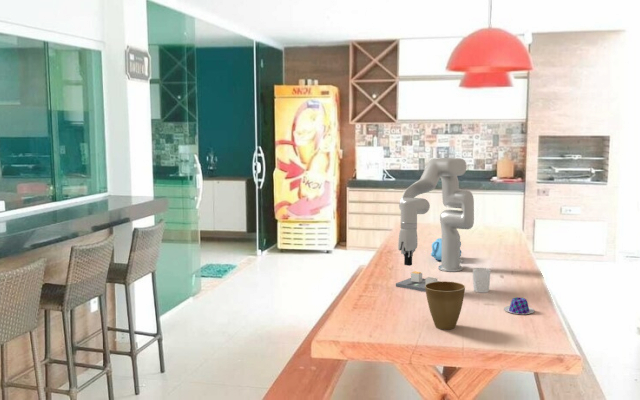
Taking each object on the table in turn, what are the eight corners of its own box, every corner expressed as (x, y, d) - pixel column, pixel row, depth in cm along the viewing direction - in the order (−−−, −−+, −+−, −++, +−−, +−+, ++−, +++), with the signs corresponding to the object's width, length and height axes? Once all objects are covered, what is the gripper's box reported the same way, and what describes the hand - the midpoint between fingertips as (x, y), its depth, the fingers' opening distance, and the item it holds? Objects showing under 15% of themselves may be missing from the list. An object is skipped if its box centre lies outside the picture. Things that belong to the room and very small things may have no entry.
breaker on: (428, 285, 295) (428, 276, 294) (437, 286, 292) (437, 278, 291) (425, 286, 292) (425, 278, 292) (433, 288, 289) (434, 279, 289)
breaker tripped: (414, 279, 305) (414, 271, 305) (422, 281, 303) (422, 272, 302) (410, 280, 303) (410, 272, 303) (418, 282, 300) (418, 273, 300)
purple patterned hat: (512, 305, 269) (512, 293, 268) (539, 310, 261) (539, 298, 260) (498, 312, 260) (499, 299, 259) (526, 317, 252) (527, 304, 251)
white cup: (477, 293, 287) (478, 272, 285) (469, 289, 294) (469, 268, 293) (493, 292, 289) (493, 270, 287) (484, 288, 296) (484, 267, 295)
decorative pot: (464, 258, 360) (465, 235, 359) (455, 264, 346) (456, 239, 345) (437, 256, 368) (437, 233, 367) (427, 261, 355) (427, 237, 353)
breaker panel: (413, 279, 313) (413, 276, 313) (457, 287, 298) (457, 283, 298) (395, 286, 301) (395, 282, 301) (440, 294, 286) (440, 291, 286)
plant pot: (458, 320, 249) (459, 280, 247) (469, 332, 234) (469, 290, 232) (421, 321, 248) (421, 281, 246) (429, 333, 234) (429, 291, 232)
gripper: (410, 223, 302) (409, 261, 304) (393, 227, 291) (392, 266, 293) (424, 225, 297) (423, 263, 299) (406, 228, 286) (406, 268, 288)
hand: (408, 265), depth 296 cm, fingers closed
